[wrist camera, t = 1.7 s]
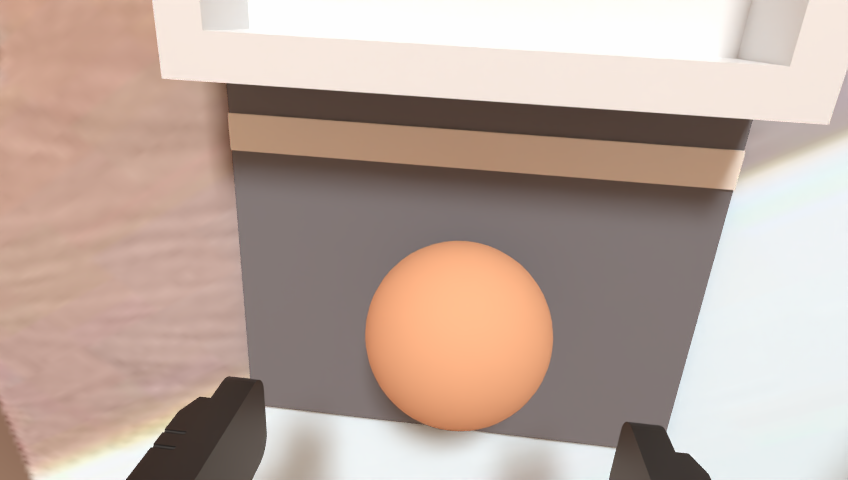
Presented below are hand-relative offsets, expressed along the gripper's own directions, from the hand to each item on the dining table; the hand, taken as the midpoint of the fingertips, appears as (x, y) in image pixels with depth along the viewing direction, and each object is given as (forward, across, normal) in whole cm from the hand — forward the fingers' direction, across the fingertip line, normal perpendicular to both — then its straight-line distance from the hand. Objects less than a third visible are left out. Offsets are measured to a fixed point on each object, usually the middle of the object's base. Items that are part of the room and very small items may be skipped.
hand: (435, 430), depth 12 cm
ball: (+5, 0, 0) cm, 5 cm away
